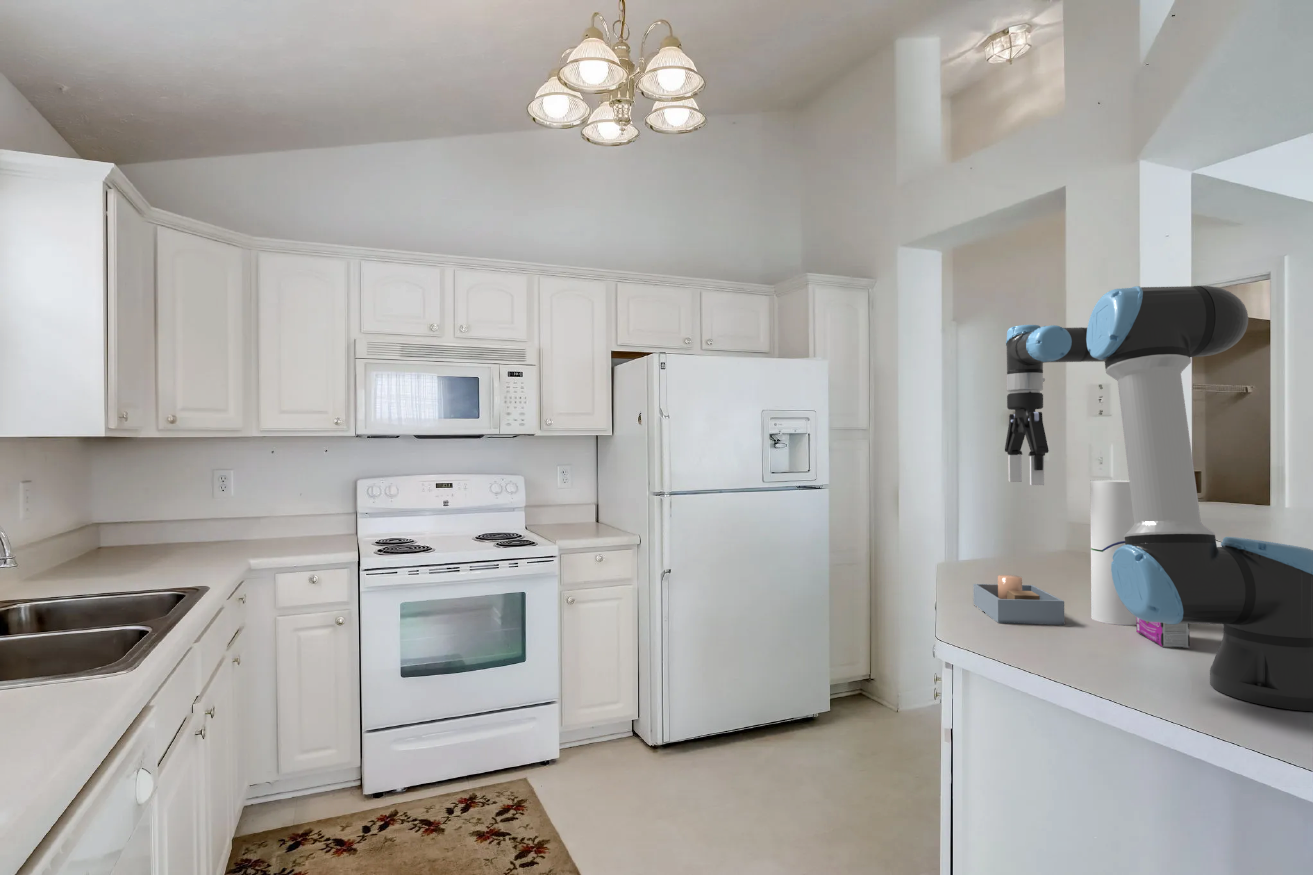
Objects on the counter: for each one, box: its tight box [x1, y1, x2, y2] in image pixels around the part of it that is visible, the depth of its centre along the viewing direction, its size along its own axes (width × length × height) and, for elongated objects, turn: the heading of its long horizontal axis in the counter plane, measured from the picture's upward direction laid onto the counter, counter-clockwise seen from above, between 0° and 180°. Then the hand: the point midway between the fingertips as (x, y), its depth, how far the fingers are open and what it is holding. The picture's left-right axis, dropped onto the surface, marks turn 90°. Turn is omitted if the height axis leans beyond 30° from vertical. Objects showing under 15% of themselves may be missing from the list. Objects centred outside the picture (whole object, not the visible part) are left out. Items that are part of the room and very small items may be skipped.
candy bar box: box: [1135, 617, 1191, 649], centre depth 139 cm, size 11×5×16 cm, turn 168°
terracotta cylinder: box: [997, 574, 1023, 599], centre depth 165 cm, size 5×5×7 cm
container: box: [1089, 479, 1136, 626], centre depth 155 cm, size 9×9×30 cm
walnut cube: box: [1007, 590, 1040, 600], centre depth 157 cm, size 5×5×5 cm
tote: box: [972, 583, 1065, 626], centre depth 161 cm, size 17×13×5 cm
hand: (1025, 483), depth 168 cm, fingers open, 13 cm apart
